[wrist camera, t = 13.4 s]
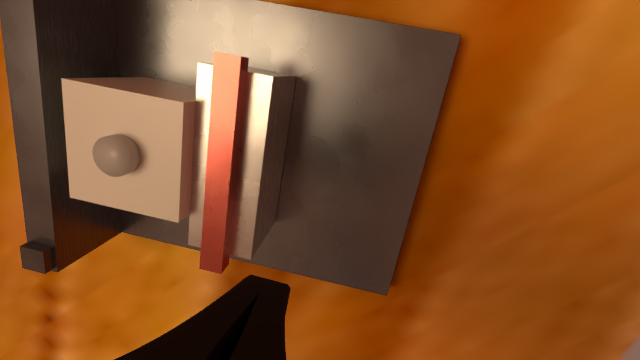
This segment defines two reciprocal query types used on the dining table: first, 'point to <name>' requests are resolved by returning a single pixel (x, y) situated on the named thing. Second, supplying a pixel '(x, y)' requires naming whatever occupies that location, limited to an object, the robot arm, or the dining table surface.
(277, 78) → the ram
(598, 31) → the dining table surface
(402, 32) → the press
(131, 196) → the block
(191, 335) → the robot arm
